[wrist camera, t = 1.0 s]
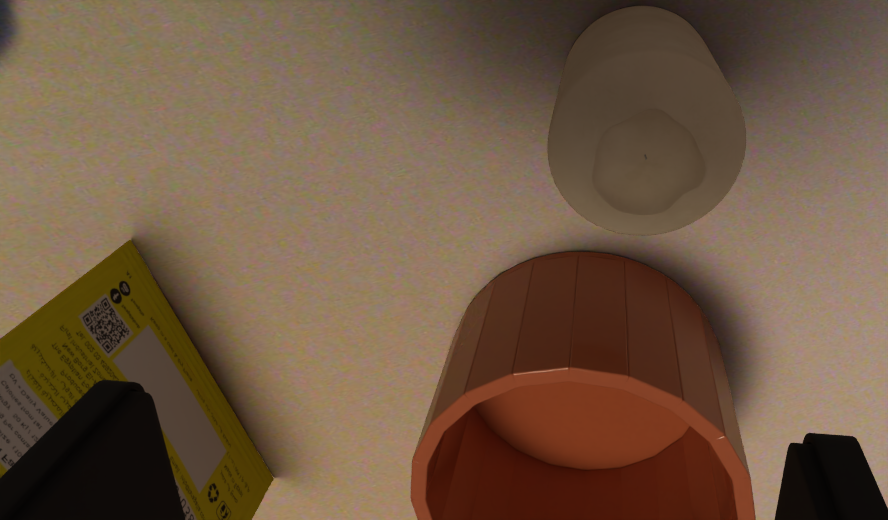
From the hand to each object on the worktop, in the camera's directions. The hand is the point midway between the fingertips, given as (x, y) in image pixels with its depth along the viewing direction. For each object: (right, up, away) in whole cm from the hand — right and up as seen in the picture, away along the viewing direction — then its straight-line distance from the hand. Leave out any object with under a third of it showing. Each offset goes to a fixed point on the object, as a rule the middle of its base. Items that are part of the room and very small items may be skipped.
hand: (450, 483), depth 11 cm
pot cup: (+6, -2, +24) cm, 25 cm away
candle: (+7, +10, +18) cm, 22 cm away
